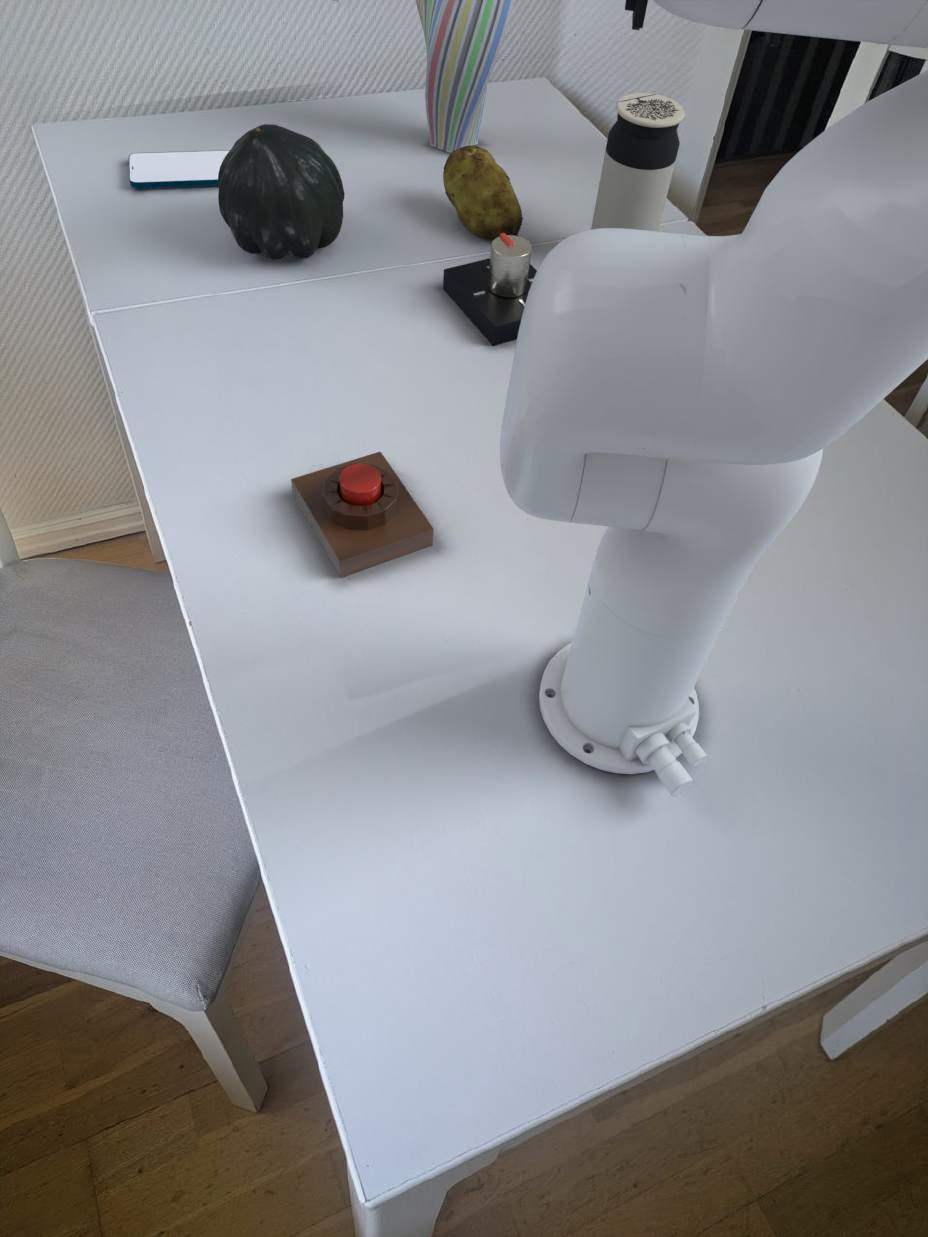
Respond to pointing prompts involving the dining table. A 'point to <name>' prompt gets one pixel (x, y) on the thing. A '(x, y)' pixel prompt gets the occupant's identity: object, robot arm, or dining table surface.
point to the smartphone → (175, 168)
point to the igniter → (362, 518)
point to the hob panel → (486, 301)
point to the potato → (481, 193)
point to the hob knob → (509, 265)
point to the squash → (280, 193)
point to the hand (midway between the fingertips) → (703, 30)
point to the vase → (460, 65)
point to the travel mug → (638, 163)
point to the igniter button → (360, 485)
